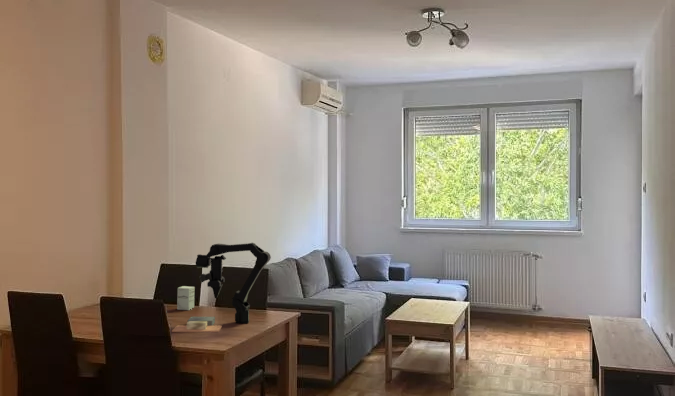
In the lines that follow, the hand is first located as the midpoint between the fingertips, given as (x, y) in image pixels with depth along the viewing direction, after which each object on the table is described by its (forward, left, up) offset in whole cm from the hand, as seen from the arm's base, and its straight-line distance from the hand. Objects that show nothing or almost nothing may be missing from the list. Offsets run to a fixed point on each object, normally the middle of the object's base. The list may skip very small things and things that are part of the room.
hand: (215, 298), depth 317 cm
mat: (+6, +19, -12) cm, 23 cm away
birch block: (+6, +20, -10) cm, 23 cm away
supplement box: (+22, -34, -12) cm, 42 cm away
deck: (+6, +8, -12) cm, 16 cm away
